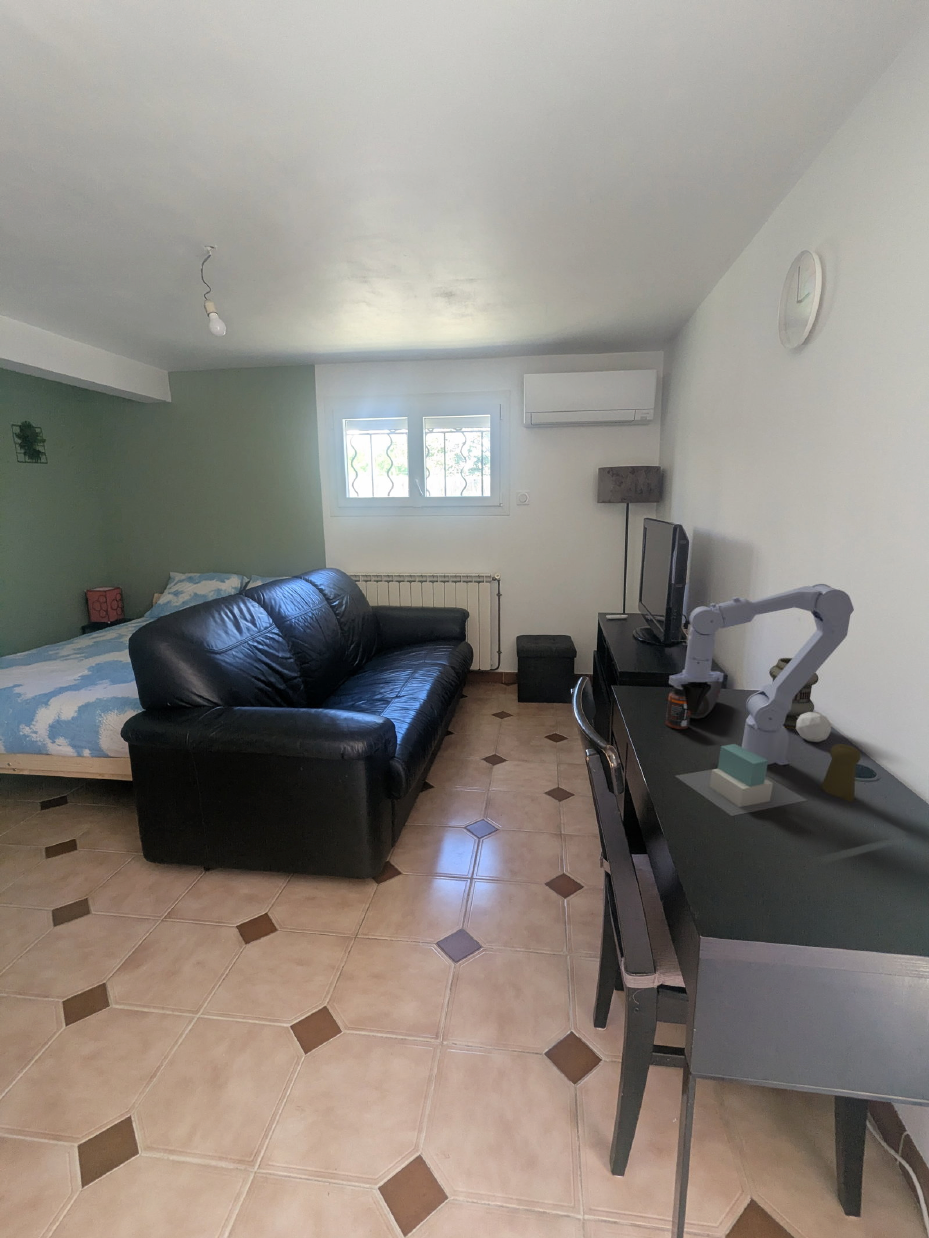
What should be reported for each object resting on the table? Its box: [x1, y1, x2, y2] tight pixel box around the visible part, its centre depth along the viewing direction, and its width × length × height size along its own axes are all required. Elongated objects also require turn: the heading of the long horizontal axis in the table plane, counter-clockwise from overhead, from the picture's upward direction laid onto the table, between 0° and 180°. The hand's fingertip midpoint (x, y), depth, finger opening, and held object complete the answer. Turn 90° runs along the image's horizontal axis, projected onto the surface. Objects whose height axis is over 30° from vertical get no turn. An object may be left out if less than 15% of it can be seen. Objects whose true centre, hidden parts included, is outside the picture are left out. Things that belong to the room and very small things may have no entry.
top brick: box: [717, 743, 769, 787], centre depth 111 cm, size 4×8×5 cm, turn 23°
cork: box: [821, 743, 861, 803], centre depth 114 cm, size 6×6×11 cm
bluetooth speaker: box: [690, 670, 722, 719], centre depth 159 cm, size 23×9×10 cm, turn 148°
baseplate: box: [675, 768, 808, 817], centre depth 115 cm, size 20×16×1 cm
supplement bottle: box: [665, 684, 691, 730], centre depth 147 cm, size 6×6×11 cm
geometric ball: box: [795, 711, 832, 743], centre depth 141 cm, size 8×8×8 cm
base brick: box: [710, 768, 773, 807], centre depth 112 cm, size 8×8×4 cm
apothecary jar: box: [768, 657, 819, 730], centre depth 151 cm, size 12×12×18 cm
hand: (692, 710), depth 131 cm, fingers closed
